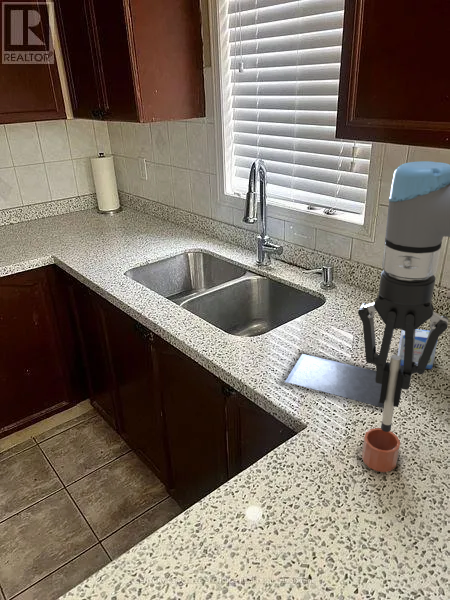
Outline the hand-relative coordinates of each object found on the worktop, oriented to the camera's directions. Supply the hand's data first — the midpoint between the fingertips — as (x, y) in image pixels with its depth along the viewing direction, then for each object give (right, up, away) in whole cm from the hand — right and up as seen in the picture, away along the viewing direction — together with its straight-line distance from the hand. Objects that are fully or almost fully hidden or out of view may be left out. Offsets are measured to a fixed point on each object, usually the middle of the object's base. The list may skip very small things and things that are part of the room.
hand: (389, 399), depth 76 cm
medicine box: (+19, +1, +35) cm, 40 cm away
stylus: (0, -6, +3) cm, 6 cm away
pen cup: (0, -13, +7) cm, 15 cm away
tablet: (-2, -3, +29) cm, 29 cm away
